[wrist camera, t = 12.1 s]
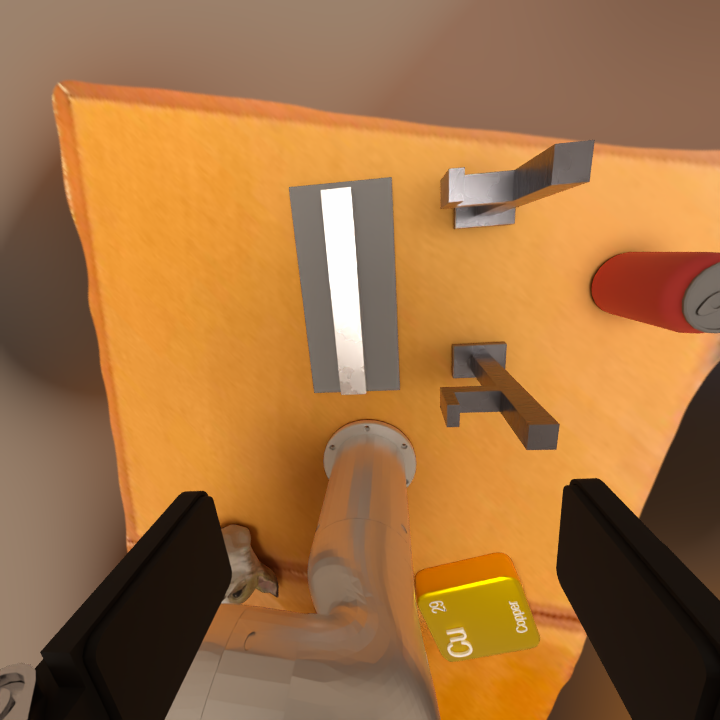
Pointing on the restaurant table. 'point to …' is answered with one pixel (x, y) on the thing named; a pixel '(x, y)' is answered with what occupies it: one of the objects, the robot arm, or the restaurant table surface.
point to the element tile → (476, 608)
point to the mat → (374, 282)
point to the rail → (345, 288)
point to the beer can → (662, 289)
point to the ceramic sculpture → (245, 567)
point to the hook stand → (487, 360)
